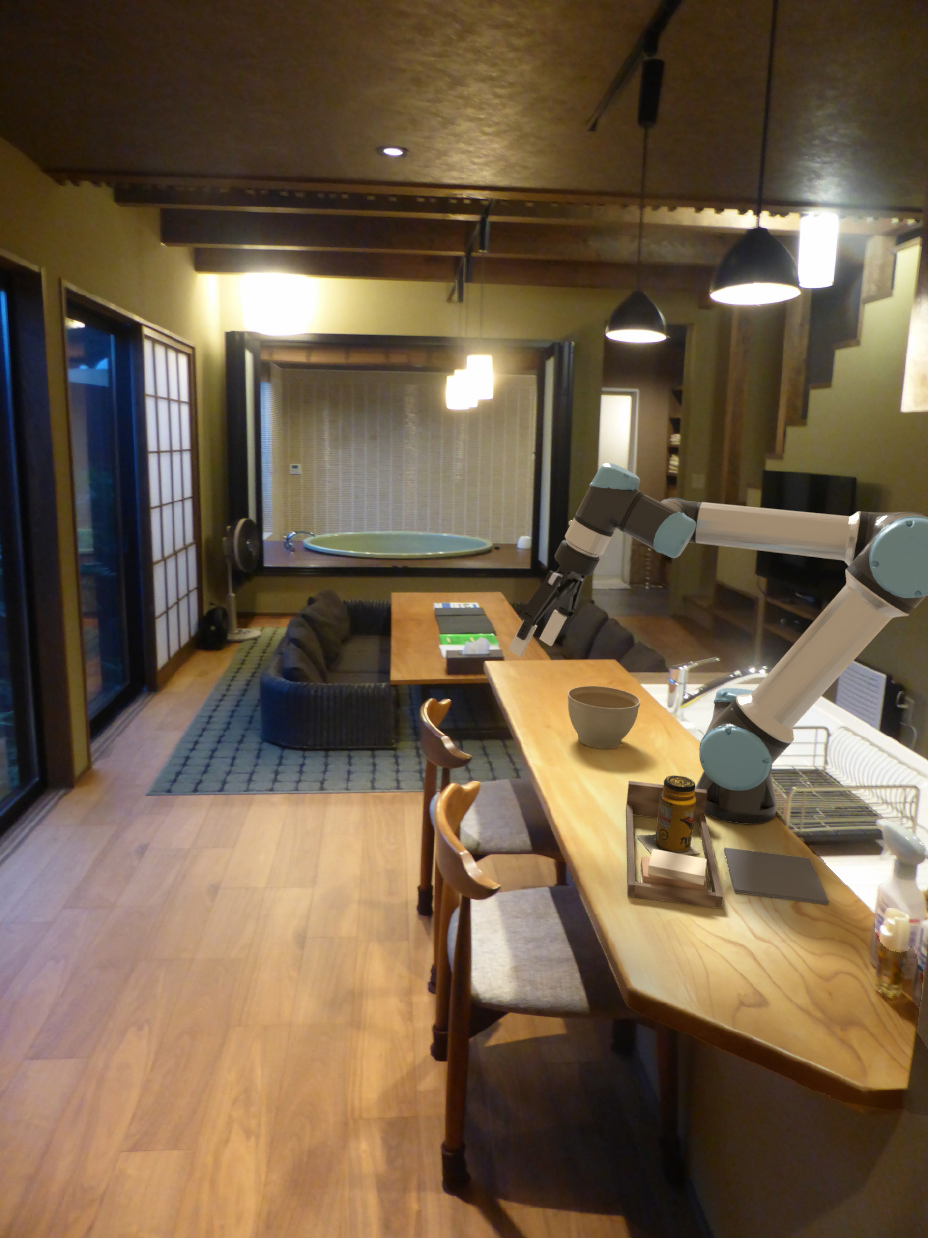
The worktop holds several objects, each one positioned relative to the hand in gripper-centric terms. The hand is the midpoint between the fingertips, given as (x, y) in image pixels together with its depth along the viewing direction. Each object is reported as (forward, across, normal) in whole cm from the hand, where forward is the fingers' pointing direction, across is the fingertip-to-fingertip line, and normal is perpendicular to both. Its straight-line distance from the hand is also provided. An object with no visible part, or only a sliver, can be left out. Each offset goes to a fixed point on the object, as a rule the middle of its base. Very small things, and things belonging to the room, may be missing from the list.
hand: (530, 647), depth 163 cm
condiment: (+15, +4, +40) cm, 43 cm away
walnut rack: (+15, +7, +40) cm, 44 cm away
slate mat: (+8, +4, +56) cm, 57 cm away
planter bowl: (+24, -37, +13) cm, 46 cm away
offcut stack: (+14, +17, +44) cm, 49 cm away
